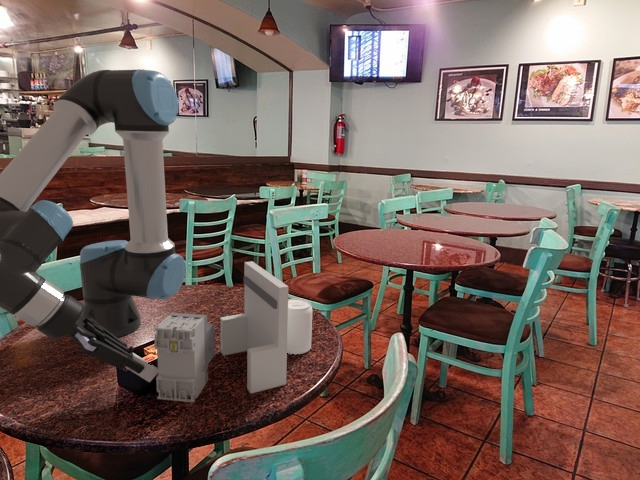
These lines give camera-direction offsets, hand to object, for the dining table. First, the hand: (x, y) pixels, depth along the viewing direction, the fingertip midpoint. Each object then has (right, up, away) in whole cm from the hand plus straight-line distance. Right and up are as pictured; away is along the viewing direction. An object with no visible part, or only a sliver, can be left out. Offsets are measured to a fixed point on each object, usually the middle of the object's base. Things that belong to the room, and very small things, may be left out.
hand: (153, 375), depth 91 cm
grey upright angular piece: (+18, -2, +11) cm, 21 cm away
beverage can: (+27, 0, +21) cm, 35 cm away
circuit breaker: (+6, -3, +5) cm, 8 cm away
